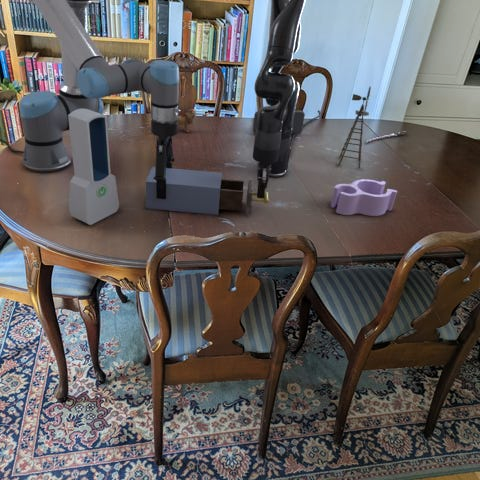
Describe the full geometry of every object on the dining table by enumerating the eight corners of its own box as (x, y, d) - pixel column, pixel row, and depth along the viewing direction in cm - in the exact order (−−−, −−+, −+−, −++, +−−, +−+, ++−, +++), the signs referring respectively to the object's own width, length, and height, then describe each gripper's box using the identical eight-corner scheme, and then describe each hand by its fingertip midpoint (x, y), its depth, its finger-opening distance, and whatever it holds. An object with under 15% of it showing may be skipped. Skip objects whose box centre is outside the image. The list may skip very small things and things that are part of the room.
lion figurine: (194, 127, 202) (194, 107, 197) (197, 132, 198) (198, 111, 193) (160, 128, 197) (160, 107, 192) (163, 133, 193) (163, 112, 188)
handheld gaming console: (299, 131, 211) (303, 109, 205) (302, 133, 208) (305, 111, 203) (251, 133, 203) (254, 110, 198) (254, 135, 201) (256, 112, 196)
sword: (403, 131, 224) (404, 129, 223) (408, 133, 222) (409, 131, 221) (360, 143, 208) (360, 140, 207) (365, 145, 206) (366, 142, 205)
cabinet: (220, 198, 150) (222, 172, 145) (218, 215, 141) (220, 188, 136) (152, 192, 150) (152, 166, 145) (146, 208, 141) (145, 181, 136)
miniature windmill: (359, 169, 181) (379, 91, 164) (338, 165, 182) (355, 87, 165) (359, 160, 188) (378, 84, 172) (338, 156, 189) (355, 81, 173)
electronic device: (87, 227, 129) (77, 121, 112) (68, 218, 132) (56, 113, 115) (120, 210, 138) (114, 110, 122) (101, 202, 141) (94, 103, 125)
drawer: (266, 200, 149) (269, 181, 146) (267, 215, 141) (270, 195, 138) (186, 193, 149) (186, 173, 145) (182, 207, 141) (182, 187, 137)
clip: (342, 219, 146) (347, 199, 142) (324, 200, 156) (328, 181, 152) (396, 213, 152) (402, 195, 148) (375, 196, 162) (380, 178, 158)
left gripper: (171, 135, 121) (171, 209, 133) (183, 108, 141) (181, 174, 153) (143, 132, 121) (144, 206, 133) (158, 105, 141) (158, 172, 153)
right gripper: (281, 154, 129) (273, 208, 138) (279, 136, 140) (271, 188, 149) (254, 151, 128) (247, 206, 138) (254, 134, 140) (248, 186, 149)
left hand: (164, 189), depth 143 cm, fingers closed on cabinet, 11 cm apart
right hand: (260, 197), depth 144 cm, fingers closed
